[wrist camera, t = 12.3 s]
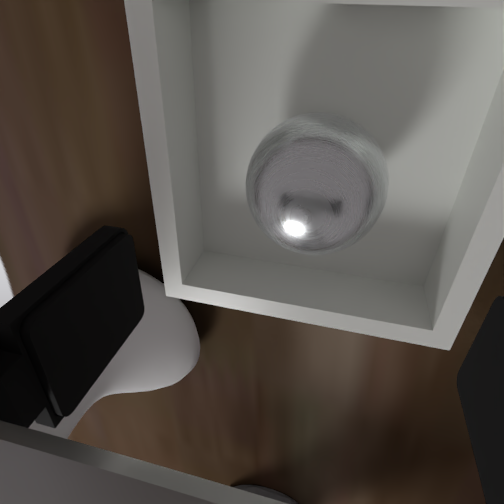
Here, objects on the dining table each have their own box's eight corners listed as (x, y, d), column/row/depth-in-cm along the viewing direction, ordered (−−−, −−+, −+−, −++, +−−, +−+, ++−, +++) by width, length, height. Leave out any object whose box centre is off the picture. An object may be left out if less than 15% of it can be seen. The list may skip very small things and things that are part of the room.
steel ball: (400, 104, 15) (413, 144, 10) (371, 224, 18) (372, 295, 13) (266, 93, 16) (225, 126, 11) (261, 208, 19) (227, 269, 15)
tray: (435, 295, 20) (449, 350, 17) (193, 254, 23) (166, 295, 20) (564, -27, 12) (635, -38, 9) (171, -32, 15) (118, -42, 12)
